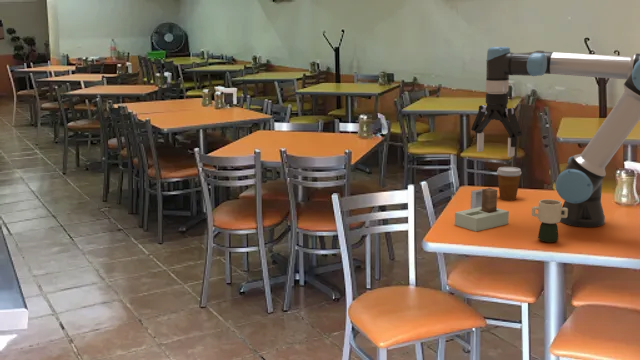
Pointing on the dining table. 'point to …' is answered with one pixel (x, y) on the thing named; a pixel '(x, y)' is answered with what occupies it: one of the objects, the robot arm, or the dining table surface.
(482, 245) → the dining table surface
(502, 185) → the disposable coffee cup
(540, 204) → the character mug
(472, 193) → the grey upright tile
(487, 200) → the walnut peg
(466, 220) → the socket block
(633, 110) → the robot arm
